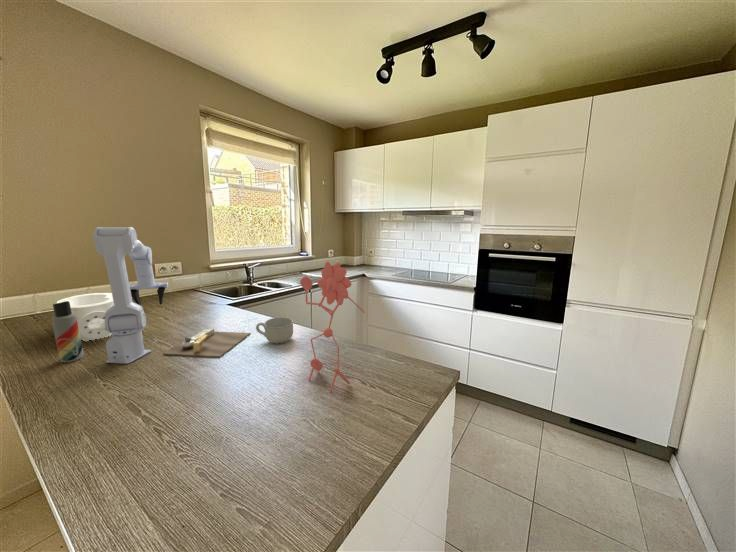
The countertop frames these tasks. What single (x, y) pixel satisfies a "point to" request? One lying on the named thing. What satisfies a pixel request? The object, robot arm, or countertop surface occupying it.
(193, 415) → the countertop surface
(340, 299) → the figurine
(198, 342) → the brass keeper
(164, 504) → the countertop surface
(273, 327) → the teacup
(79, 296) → the housing
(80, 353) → the lotion bottle
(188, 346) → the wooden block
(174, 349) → the walnut board
